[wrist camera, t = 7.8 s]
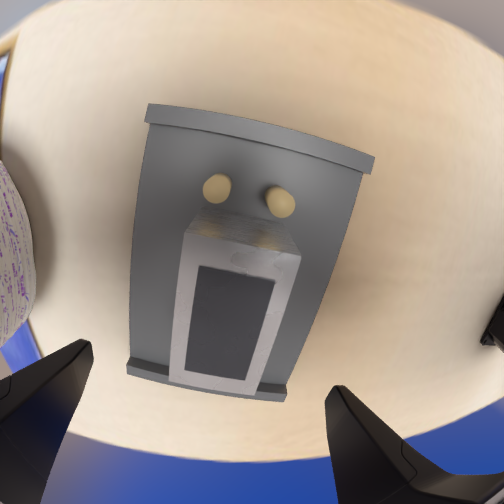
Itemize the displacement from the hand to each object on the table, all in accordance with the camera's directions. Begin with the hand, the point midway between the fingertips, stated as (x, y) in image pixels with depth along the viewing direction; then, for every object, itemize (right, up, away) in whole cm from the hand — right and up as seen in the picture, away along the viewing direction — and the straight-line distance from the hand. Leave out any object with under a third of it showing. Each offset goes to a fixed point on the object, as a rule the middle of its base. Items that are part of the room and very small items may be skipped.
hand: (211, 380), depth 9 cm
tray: (0, +3, +9) cm, 9 cm away
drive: (0, +3, +8) cm, 8 cm away
